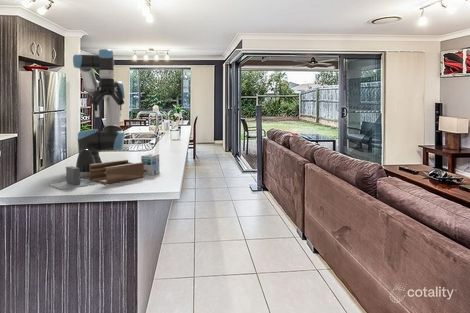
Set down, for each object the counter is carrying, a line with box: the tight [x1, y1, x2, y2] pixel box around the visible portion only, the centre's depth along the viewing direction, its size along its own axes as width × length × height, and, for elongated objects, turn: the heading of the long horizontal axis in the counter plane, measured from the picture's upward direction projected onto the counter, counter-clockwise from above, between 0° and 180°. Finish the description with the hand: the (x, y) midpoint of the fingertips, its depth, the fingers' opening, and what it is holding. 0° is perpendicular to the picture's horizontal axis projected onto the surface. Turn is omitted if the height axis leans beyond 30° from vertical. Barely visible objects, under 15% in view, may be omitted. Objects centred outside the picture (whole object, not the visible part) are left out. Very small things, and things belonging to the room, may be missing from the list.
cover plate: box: [48, 165, 99, 191], centre depth 189 cm, size 13×18×9 cm
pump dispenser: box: [75, 149, 95, 179], centre depth 209 cm, size 10×10×15 cm
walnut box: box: [89, 159, 145, 185], centre depth 204 cm, size 16×22×8 cm
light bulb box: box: [140, 153, 160, 176], centre depth 220 cm, size 11×7×11 cm, turn 169°
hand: (108, 116), depth 219 cm, fingers open, 13 cm apart
